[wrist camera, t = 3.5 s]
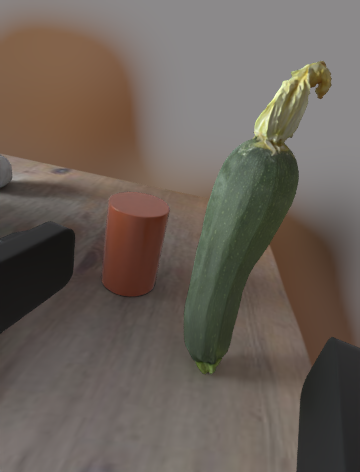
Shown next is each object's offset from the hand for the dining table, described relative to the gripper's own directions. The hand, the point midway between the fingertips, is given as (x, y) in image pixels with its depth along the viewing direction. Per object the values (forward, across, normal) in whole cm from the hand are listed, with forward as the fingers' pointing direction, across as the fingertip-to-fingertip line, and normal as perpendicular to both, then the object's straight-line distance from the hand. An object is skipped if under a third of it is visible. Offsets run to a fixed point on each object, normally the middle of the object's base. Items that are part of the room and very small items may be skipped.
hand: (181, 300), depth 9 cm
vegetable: (+10, 0, +13) cm, 16 cm away
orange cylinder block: (+15, +9, +12) cm, 22 cm away
